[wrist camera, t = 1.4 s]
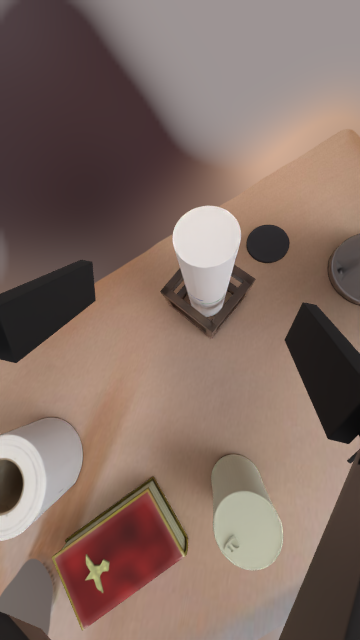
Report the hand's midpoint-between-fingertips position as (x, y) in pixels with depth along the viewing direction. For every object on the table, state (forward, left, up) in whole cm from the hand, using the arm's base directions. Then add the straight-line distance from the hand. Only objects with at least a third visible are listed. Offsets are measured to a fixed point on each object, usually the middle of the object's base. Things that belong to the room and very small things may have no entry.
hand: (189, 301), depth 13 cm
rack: (+5, -8, -32) cm, 34 cm away
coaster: (+2, -26, -32) cm, 42 cm away
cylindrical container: (+5, -8, -32) cm, 34 cm away
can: (-21, +16, -32) cm, 42 cm away
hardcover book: (-12, +38, -32) cm, 52 cm away
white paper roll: (+10, +39, -32) cm, 52 cm away
